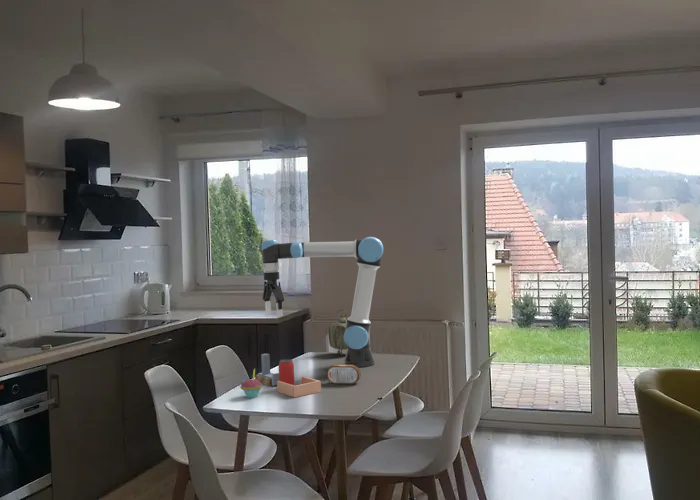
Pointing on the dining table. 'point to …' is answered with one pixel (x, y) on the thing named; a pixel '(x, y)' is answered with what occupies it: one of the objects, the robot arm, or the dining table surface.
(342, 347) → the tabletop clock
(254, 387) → the cupcake
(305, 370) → the dining table surface
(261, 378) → the launcher rail
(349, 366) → the tin
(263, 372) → the grey post stand
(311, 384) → the cup corral
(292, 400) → the dining table surface
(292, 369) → the beer can
